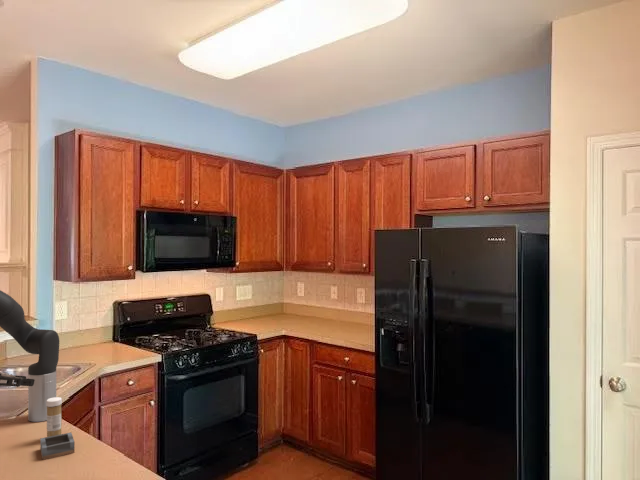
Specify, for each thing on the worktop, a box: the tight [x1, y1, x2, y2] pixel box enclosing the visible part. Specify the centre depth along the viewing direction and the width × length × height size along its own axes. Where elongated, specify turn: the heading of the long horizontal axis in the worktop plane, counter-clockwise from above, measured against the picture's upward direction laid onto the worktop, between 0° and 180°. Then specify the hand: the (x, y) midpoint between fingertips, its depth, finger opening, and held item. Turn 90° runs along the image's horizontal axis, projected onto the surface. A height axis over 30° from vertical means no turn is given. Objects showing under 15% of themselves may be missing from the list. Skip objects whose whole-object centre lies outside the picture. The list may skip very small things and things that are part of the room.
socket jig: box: [39, 432, 76, 460], centre depth 151 cm, size 9×9×4 cm
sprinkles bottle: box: [46, 396, 63, 437], centre depth 161 cm, size 5×5×14 cm
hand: (29, 381), depth 157 cm, fingers open, 8 cm apart
